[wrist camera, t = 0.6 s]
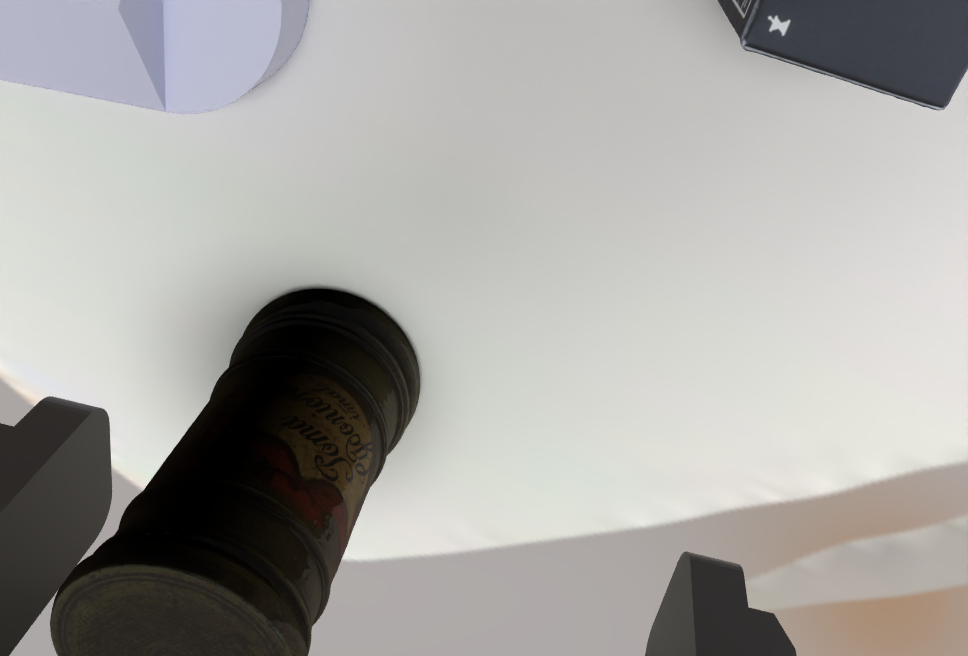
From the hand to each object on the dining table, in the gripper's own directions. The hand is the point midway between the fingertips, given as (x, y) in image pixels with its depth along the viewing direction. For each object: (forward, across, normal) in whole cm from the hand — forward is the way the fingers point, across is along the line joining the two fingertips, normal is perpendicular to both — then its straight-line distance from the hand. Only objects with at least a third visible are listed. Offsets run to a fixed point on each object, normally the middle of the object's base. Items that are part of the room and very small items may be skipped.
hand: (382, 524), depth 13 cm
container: (+27, +7, +17) cm, 33 cm away
